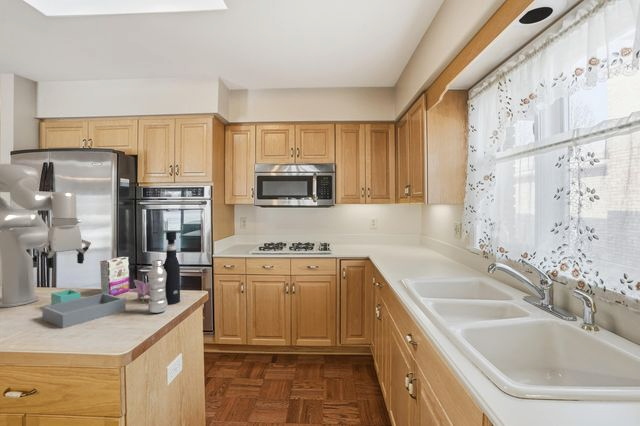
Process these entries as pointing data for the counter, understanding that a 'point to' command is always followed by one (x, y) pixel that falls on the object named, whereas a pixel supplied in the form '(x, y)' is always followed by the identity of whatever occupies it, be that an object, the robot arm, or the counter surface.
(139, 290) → the lily
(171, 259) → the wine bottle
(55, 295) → the teal crate
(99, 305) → the gray crate
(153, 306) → the silver ribbed bottle
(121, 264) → the candy bar box
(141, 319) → the counter surface
